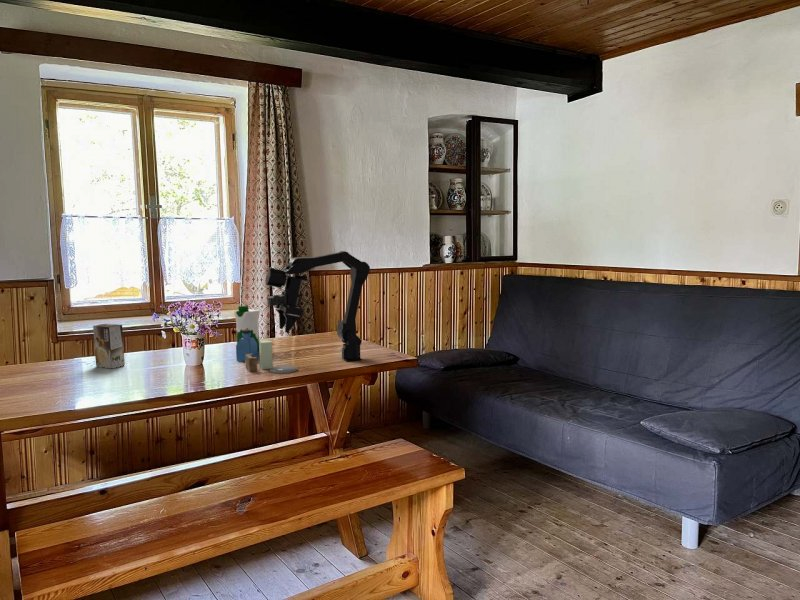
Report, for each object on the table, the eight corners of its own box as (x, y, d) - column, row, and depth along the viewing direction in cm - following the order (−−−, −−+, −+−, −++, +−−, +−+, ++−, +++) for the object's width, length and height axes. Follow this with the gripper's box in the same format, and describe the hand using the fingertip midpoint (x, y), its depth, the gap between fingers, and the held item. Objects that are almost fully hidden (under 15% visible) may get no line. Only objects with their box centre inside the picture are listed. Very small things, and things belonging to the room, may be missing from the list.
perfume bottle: (251, 361, 242) (250, 331, 240) (236, 360, 243) (235, 331, 242) (257, 358, 248) (256, 329, 246) (243, 357, 249) (242, 328, 248)
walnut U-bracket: (252, 366, 233) (252, 353, 232) (257, 371, 225) (256, 357, 224) (245, 367, 232) (245, 354, 231) (249, 371, 224) (249, 358, 223)
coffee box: (125, 365, 236) (123, 324, 234) (112, 369, 230) (109, 326, 228) (108, 363, 239) (106, 323, 238) (94, 367, 234) (92, 325, 232)
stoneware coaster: (293, 366, 233) (293, 364, 233) (300, 371, 224) (300, 370, 224) (267, 368, 229) (267, 367, 229) (273, 374, 220) (273, 372, 220)
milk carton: (233, 353, 258) (231, 306, 256) (249, 349, 265) (247, 303, 263) (248, 355, 253) (246, 307, 251) (263, 351, 261) (262, 305, 258)
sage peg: (270, 366, 233) (269, 340, 232) (272, 368, 230) (271, 342, 228) (259, 367, 232) (259, 341, 230) (262, 369, 228) (261, 342, 227)
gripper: (266, 284, 237) (258, 323, 237) (276, 288, 220) (267, 330, 220) (294, 289, 241) (285, 328, 242) (306, 294, 224) (297, 335, 225)
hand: (283, 330), depth 232 cm, fingers open, 9 cm apart
